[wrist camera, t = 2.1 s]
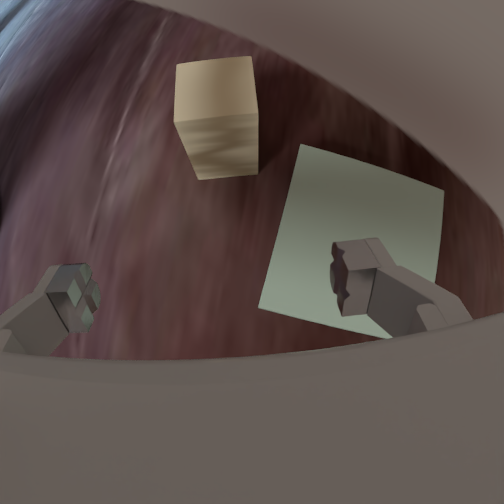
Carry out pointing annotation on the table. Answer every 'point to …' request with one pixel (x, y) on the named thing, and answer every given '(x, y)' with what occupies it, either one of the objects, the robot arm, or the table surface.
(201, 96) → the maple block
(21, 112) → the table surface
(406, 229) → the plinth
